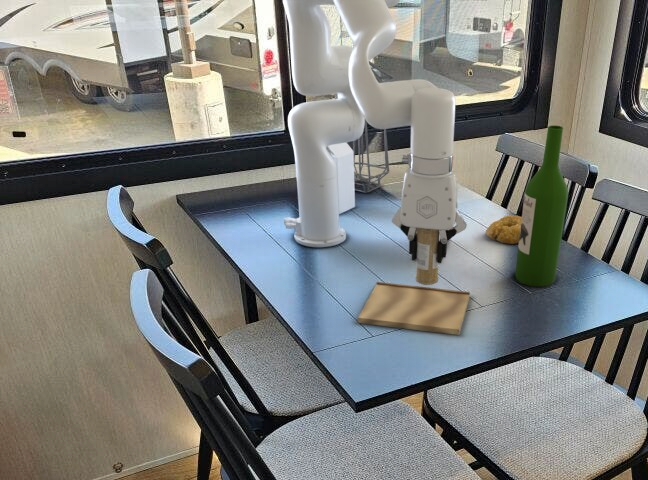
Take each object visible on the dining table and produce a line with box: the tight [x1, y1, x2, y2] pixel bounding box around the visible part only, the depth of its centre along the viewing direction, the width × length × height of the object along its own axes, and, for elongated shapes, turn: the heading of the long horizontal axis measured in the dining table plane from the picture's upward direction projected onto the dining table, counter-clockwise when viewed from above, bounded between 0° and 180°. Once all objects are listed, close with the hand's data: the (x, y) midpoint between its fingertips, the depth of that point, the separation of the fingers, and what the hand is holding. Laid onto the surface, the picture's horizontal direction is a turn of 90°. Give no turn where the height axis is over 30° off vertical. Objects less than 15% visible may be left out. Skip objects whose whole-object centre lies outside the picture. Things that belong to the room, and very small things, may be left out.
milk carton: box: [326, 142, 356, 215], centre depth 180 cm, size 7×7×19 cm
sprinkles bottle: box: [415, 228, 440, 286], centre depth 131 cm, size 5×5×13 cm
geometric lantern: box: [335, 60, 397, 194], centre depth 191 cm, size 16×16×35 cm
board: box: [357, 281, 471, 336], centre depth 138 cm, size 20×16×2 cm
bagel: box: [485, 214, 522, 245], centre depth 170 cm, size 10×11×5 cm
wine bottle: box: [514, 125, 569, 288], centre depth 143 cm, size 9×9×32 cm
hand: (427, 258), depth 132 cm, fingers closed on sprinkles bottle, 4 cm apart
